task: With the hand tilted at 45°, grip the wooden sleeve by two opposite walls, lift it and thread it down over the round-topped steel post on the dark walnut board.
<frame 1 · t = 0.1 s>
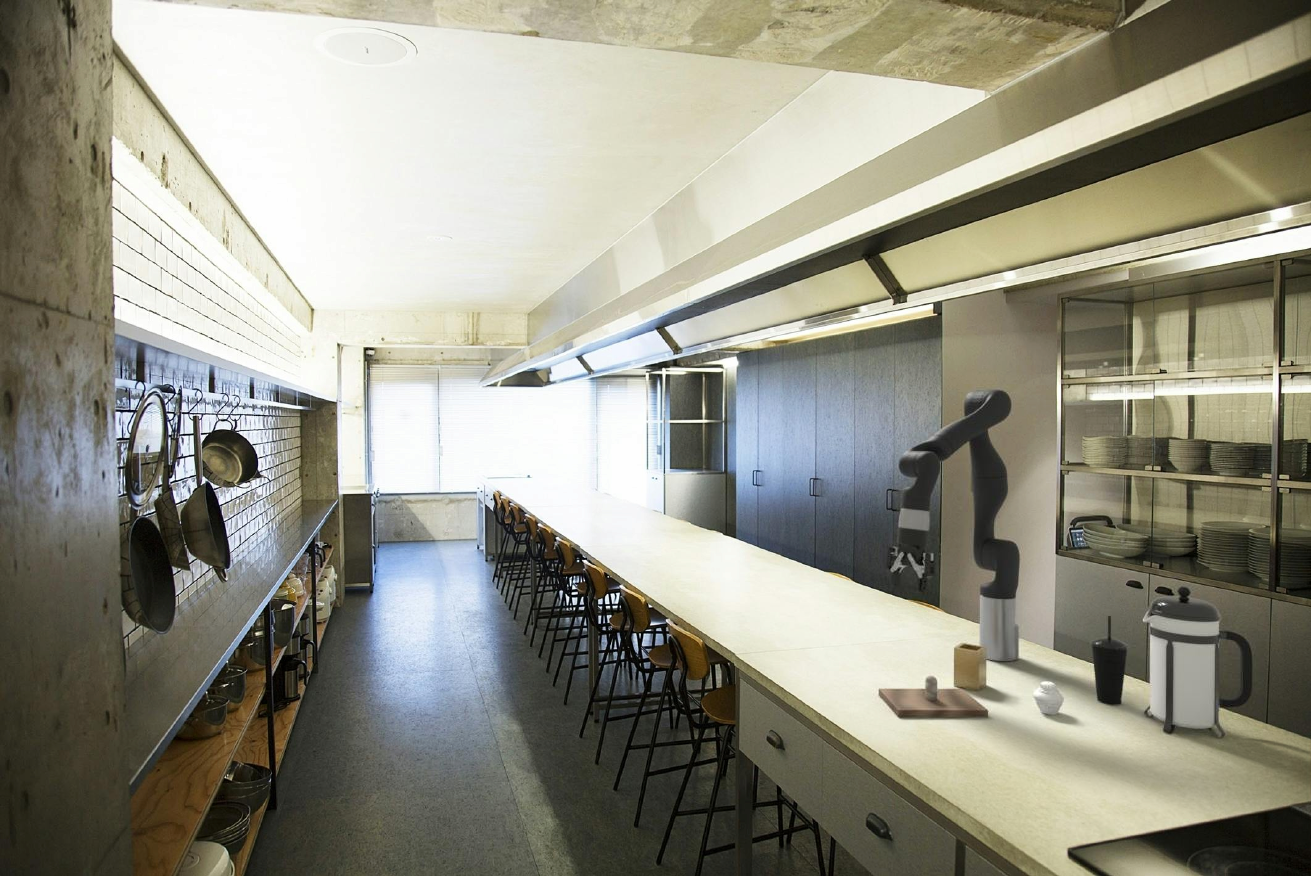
hand: (907, 590, 193), 22 cm above the table, tool pointing down, fingers open, 8 cm apart
post board: (931, 705, 172), on the table
muffin: (1048, 713, 168), on the table
wooden sleeve: (970, 685, 186), on the table
drinking cup: (1109, 702, 175), on the table
coffee press: (1189, 727, 160), on the table
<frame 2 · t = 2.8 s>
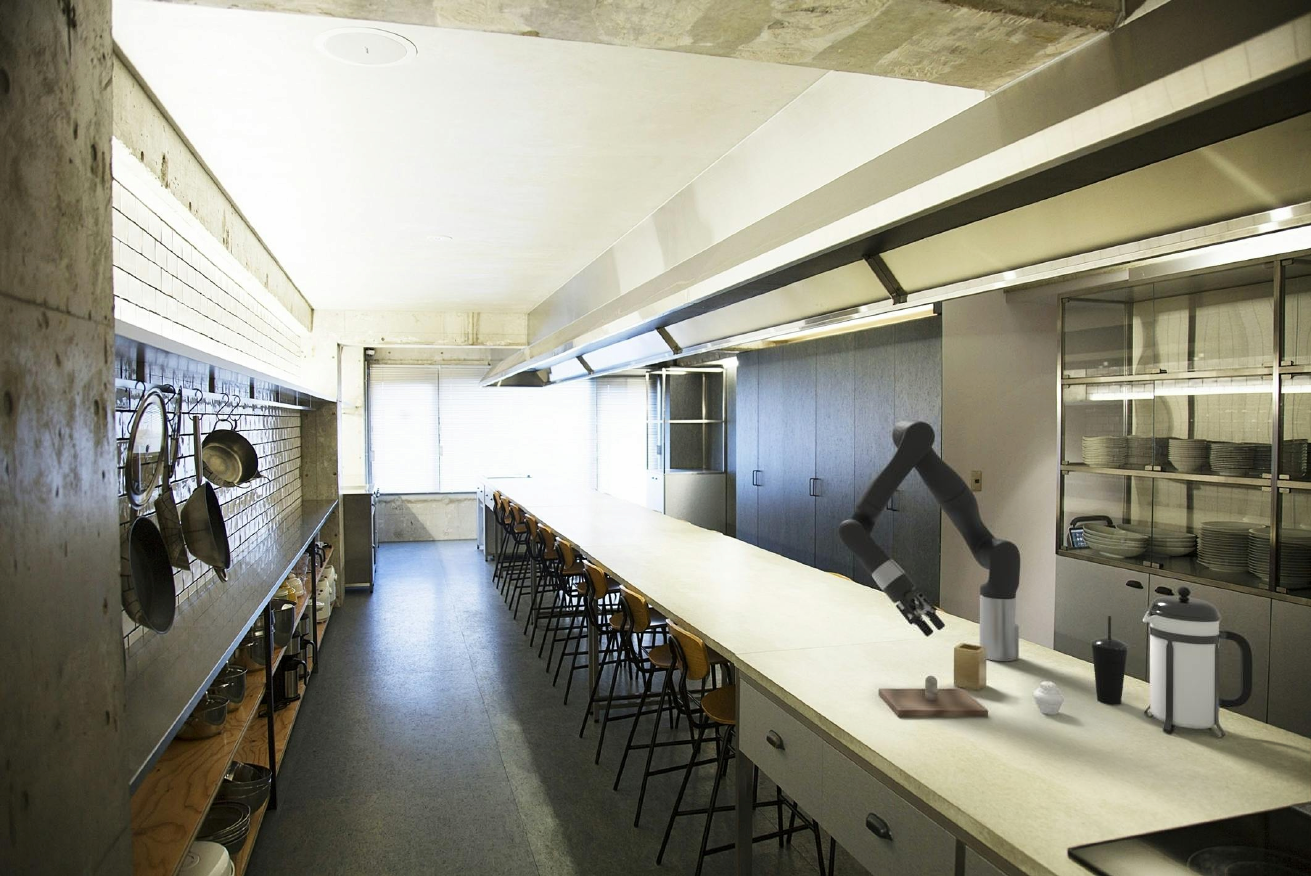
hand: (936, 631, 191), 12 cm above the table, tool tilted 45°, fingers open, 8 cm apart
nothing on the table moved.
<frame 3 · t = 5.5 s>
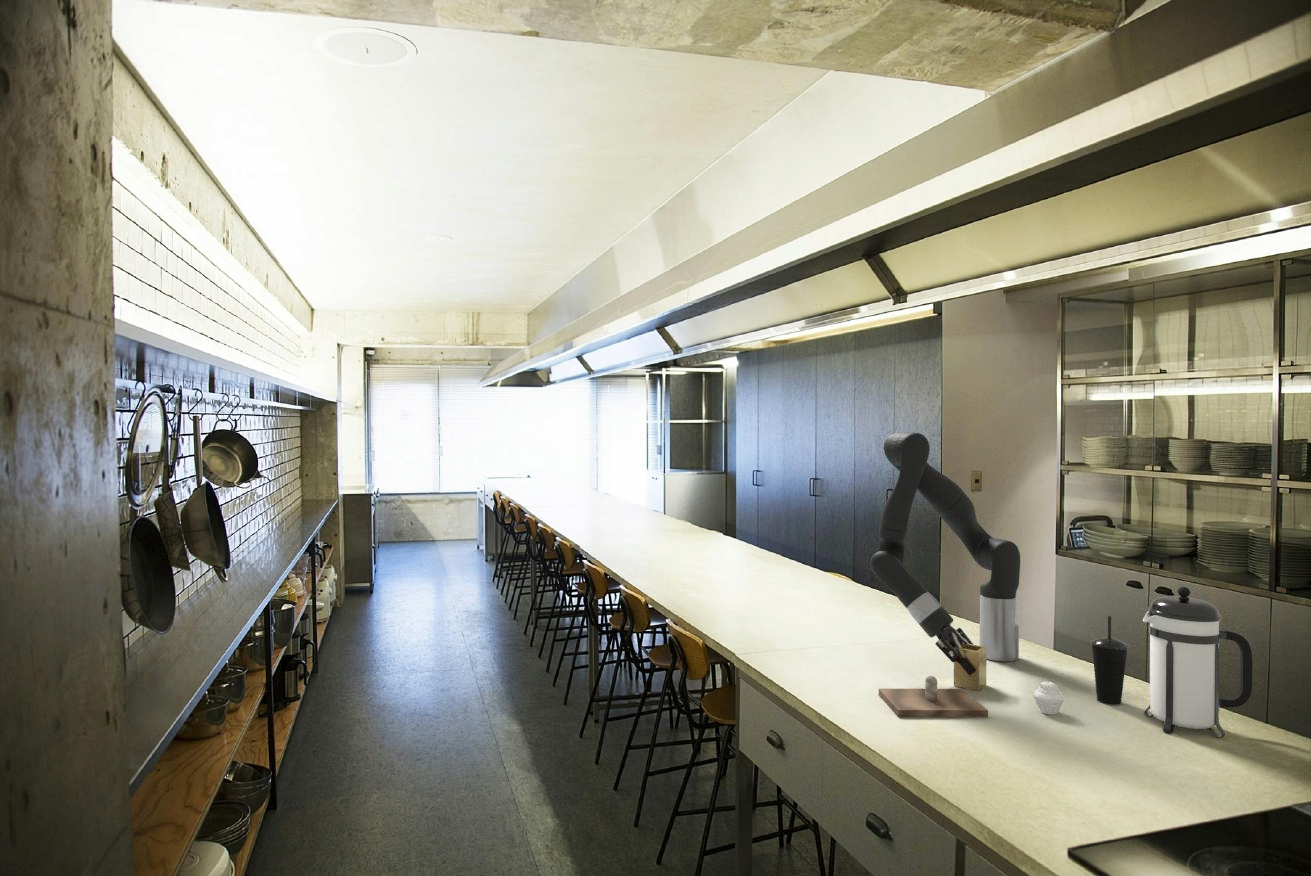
hand: (977, 669, 185), 4 cm above the table, tool tilted 45°, fingers closed on wooden sleeve, 6 cm apart
wooden sleeve: (970, 685, 186), on the table, touching gripper
everything else where it was.
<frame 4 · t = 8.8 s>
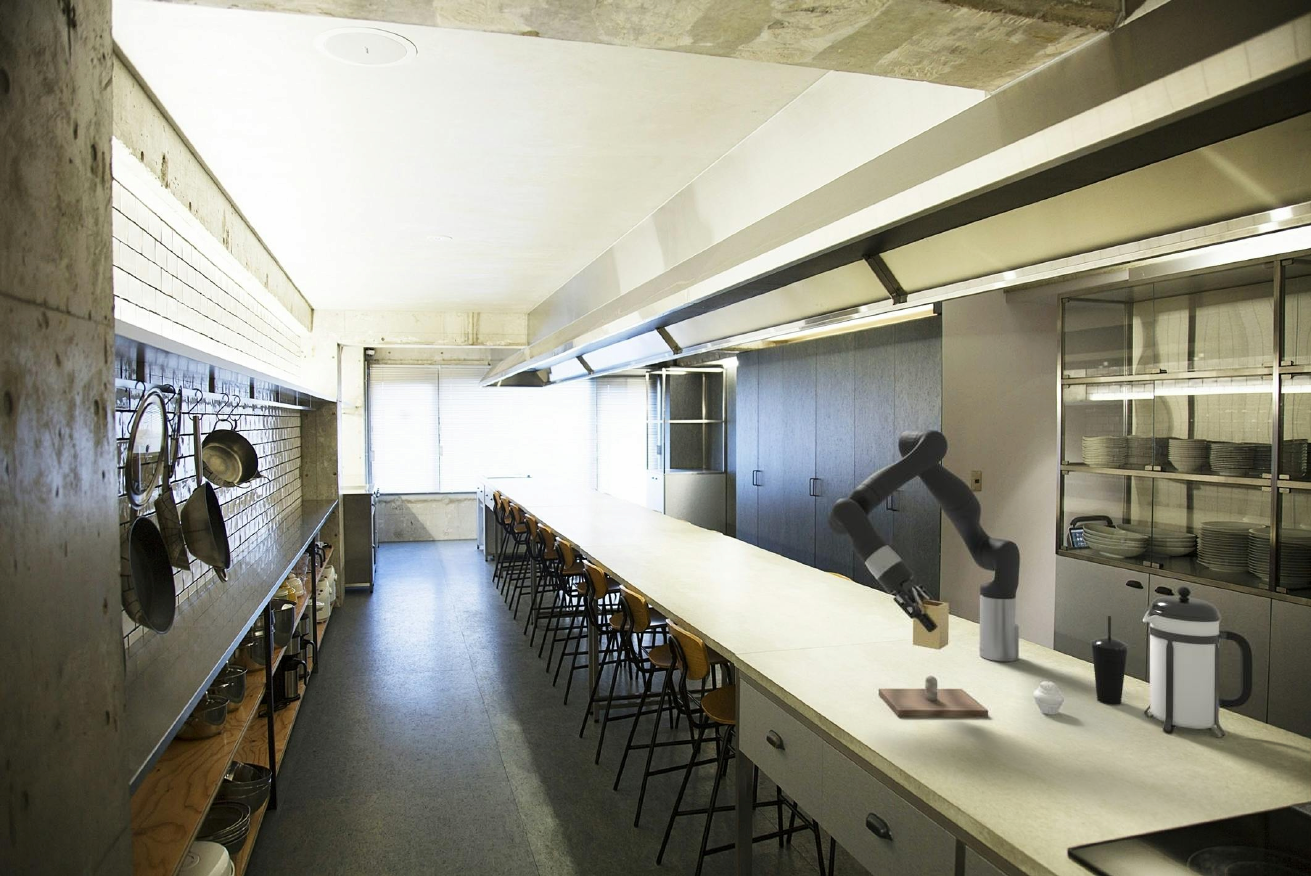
hand: (938, 627, 171), 18 cm above the table, tool tilted 45°, fingers closed on wooden sleeve, 6 cm apart
wooden sleeve: (930, 644, 172), point 14 cm above the table, touching gripper
everything else where it was.
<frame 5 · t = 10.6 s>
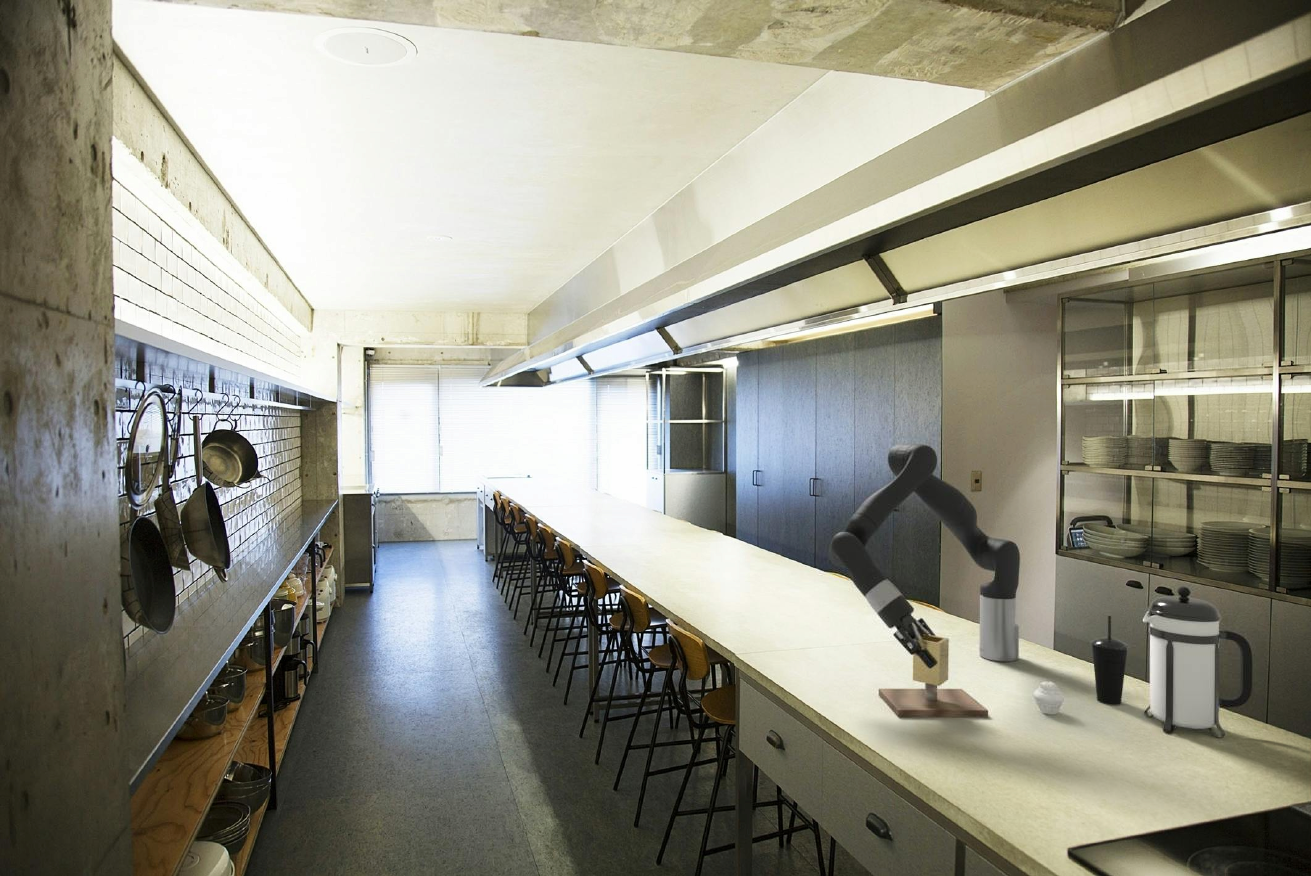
hand: (938, 662, 171), 10 cm above the table, tool tilted 45°, fingers closed on wooden sleeve, 6 cm apart
wooden sleeve: (930, 679, 172), point 6 cm above the table, touching gripper
everything else where it was.
when the fingers open (7 cm above the table, at t = 12.1 s): wooden sleeve stays where it is, resting on post board.
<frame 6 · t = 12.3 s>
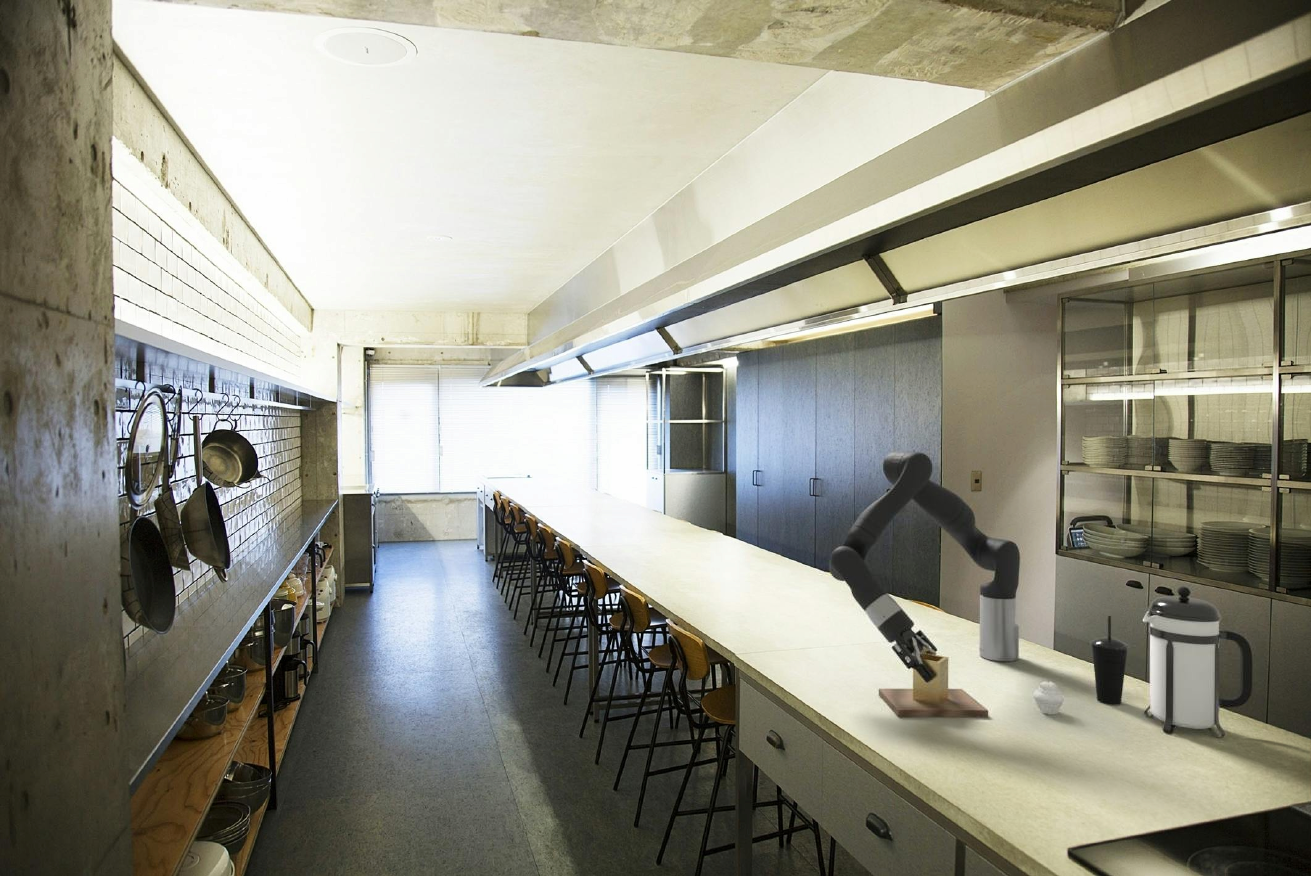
hand: (937, 675, 171), 7 cm above the table, tool tilted 45°, fingers open, 8 cm apart
wooden sleeve: (930, 698, 172), point 1 cm above the table, touching post board
everything else where it was.
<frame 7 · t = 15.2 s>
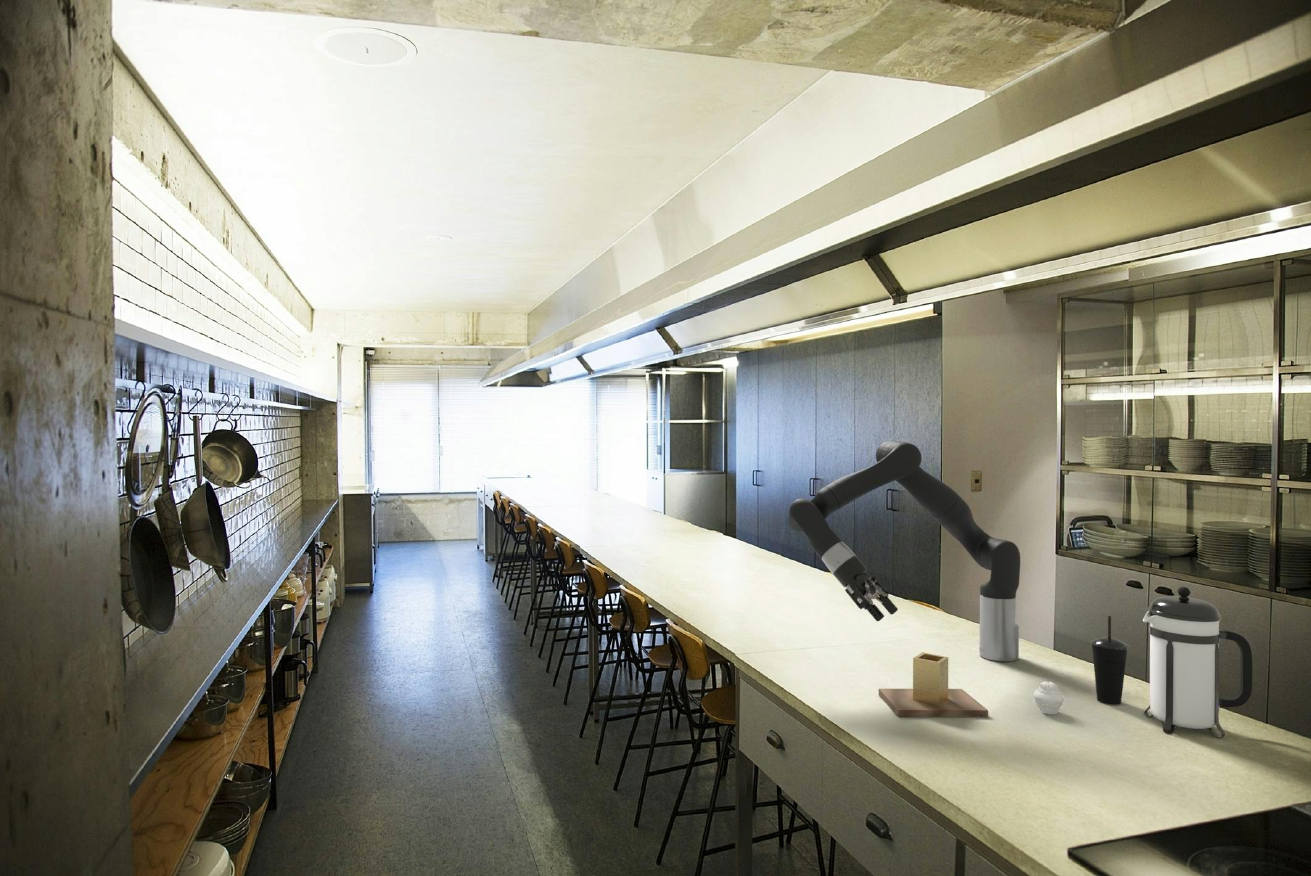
hand: (888, 615, 182), 18 cm above the table, tool tilted 45°, fingers open, 8 cm apart
nothing on the table moved.
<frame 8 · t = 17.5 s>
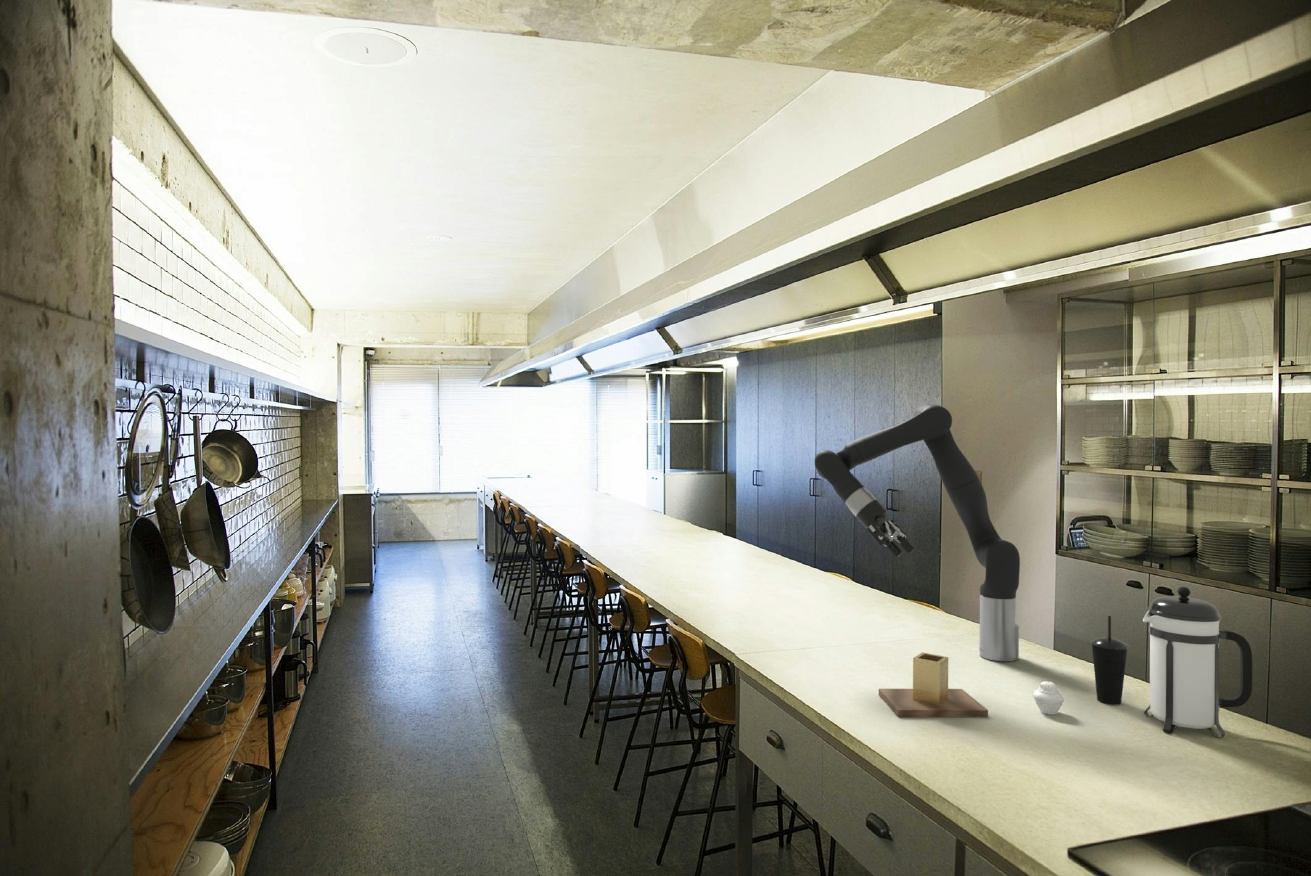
hand: (906, 552, 201), 31 cm above the table, tool tilted 45°, fingers open, 8 cm apart
nothing on the table moved.
at the end: wooden sleeve 0.1 cm from the post board (horizontally); wooden sleeve point 1.5 cm above the table; wooden sleeve tilted 0° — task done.
